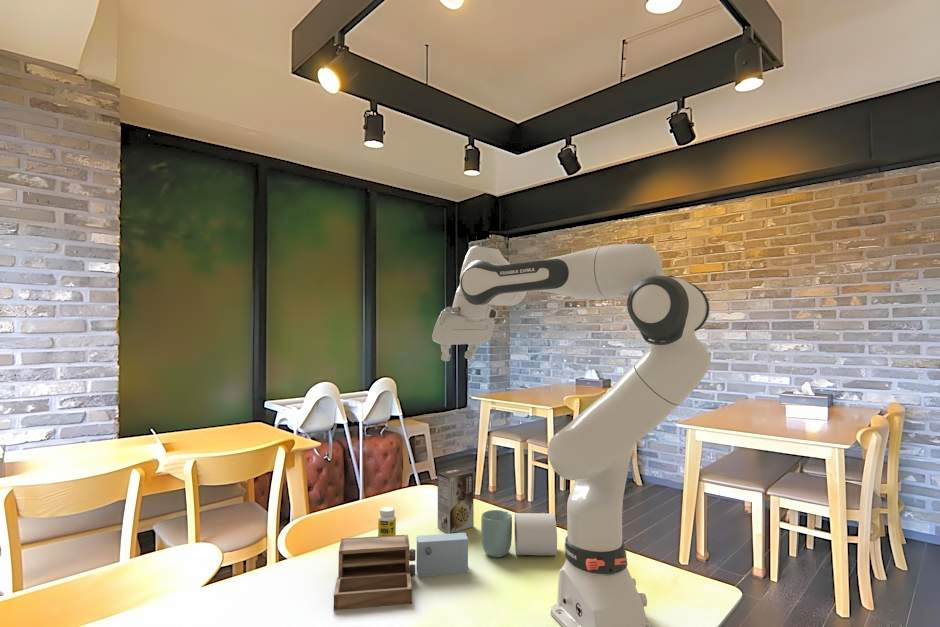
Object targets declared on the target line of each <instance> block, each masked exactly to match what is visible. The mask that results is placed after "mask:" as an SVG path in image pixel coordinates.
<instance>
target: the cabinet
mask: <svg viewBox="0 0 940 627" xmlns="http://www.w3.org/2000/svg"><path fill="white" fill-rule="evenodd" d="M416 552H417V549H414V548H411V549H410V540H409V534H396V535H394V536H378V535H377V536H365V537H364V536H363V537H352V538H351V537H348V538H341V539H340V543H339V547H338V576H337V577H336V582H335V588H334V592H333V610H347V609H357V608H359V609H360V608H369V607H371V608H372V607H381V606H394V605H406V604H407V605H409V604H412V600H413V598H412V597H413V596H412V595H413V594H412V592H413V588H412V577H415V576H416V564H412V563H411V564H410V562H415V561H416Z"/></svg>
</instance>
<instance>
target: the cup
mask: <svg viewBox="0 0 940 627" xmlns="http://www.w3.org/2000/svg"><path fill="white" fill-rule="evenodd" d="M512 516H513V515H512V514H511V513H510V512H508V511H506V510H501V509H490V510H486V511H484V512H483V513H482V514H481V519H480V522H481V526H480V529H481V542H482V543H481V545H482V549H483V550H484V553H485V554H486V555H488V556H489V557H491V558H501V557H502V558H503V557H505V556H506V555H508V554H509V552H510V550H511V547H512V541H513V517H512Z"/></svg>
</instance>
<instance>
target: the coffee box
mask: <svg viewBox="0 0 940 627" xmlns="http://www.w3.org/2000/svg"><path fill="white" fill-rule="evenodd" d="M474 508H475V507H474V472H473V471H471V470H468V469H465V468H462V467H459V468H454V469H450V470H445V471H442V472H437V529H439V530H441V531H443V532H446V534H453V533H459V532H460V531H464V530H466V529H470V528H473V527H474V525H475V522H474V521H475V520H474V519H475V518H474V513H475V512H474Z"/></svg>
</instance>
